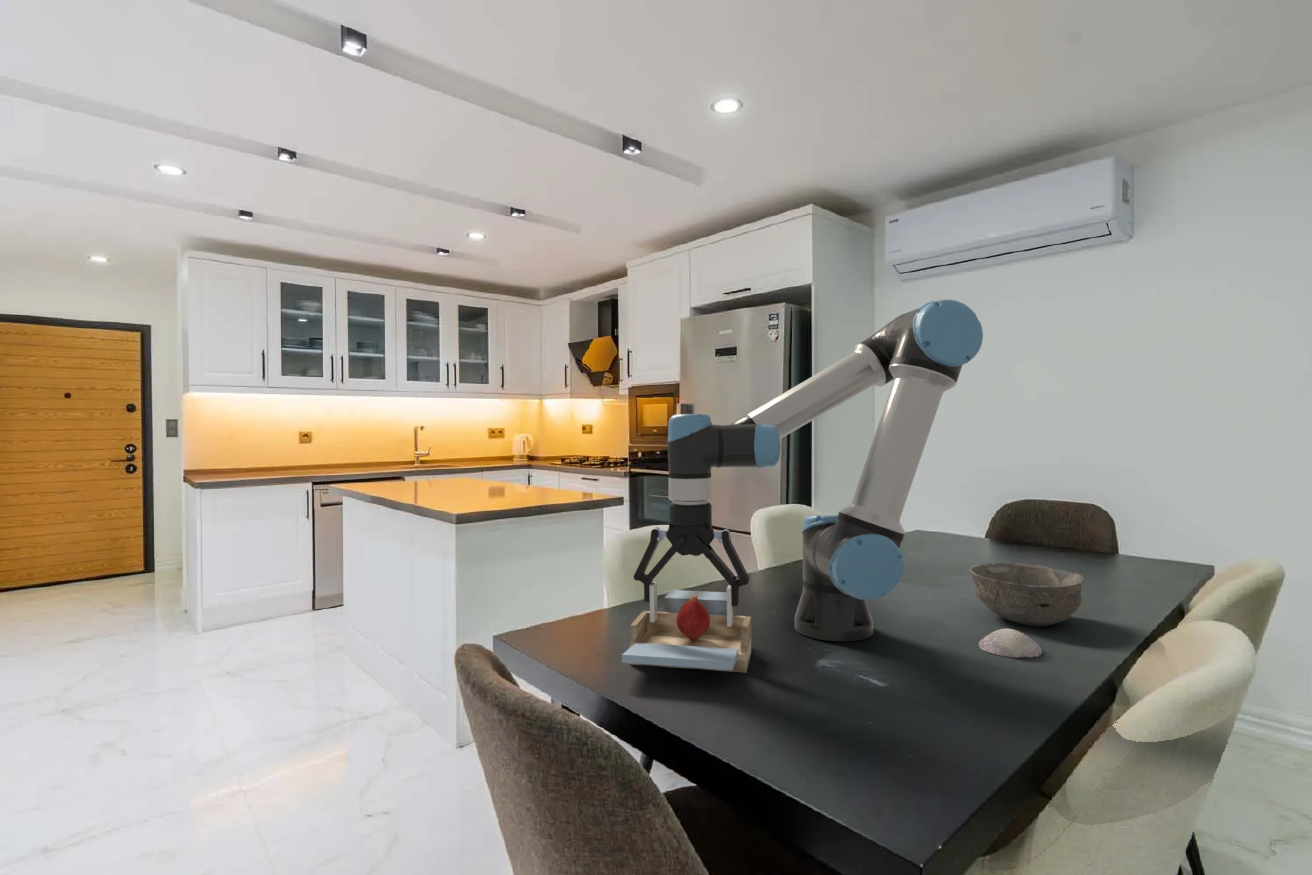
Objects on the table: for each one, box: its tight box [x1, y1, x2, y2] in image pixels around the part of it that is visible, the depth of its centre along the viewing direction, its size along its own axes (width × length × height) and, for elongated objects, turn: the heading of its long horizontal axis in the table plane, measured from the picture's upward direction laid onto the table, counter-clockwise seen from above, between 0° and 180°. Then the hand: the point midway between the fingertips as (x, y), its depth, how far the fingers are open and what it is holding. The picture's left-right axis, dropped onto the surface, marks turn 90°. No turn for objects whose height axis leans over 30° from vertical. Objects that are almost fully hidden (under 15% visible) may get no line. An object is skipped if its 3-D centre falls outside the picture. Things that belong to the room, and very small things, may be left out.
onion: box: [676, 596, 710, 641], centre depth 114 cm, size 6×6×8 cm
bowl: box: [969, 562, 1085, 627], centre depth 134 cm, size 21×21×10 cm
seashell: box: [978, 628, 1043, 659], centre depth 117 cm, size 10×6×10 cm
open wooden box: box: [628, 589, 752, 673], centre depth 117 cm, size 20×17×9 cm
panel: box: [621, 643, 738, 670], centre depth 105 cm, size 17×2×9 cm
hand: (691, 622), depth 114 cm, fingers open, 13 cm apart
